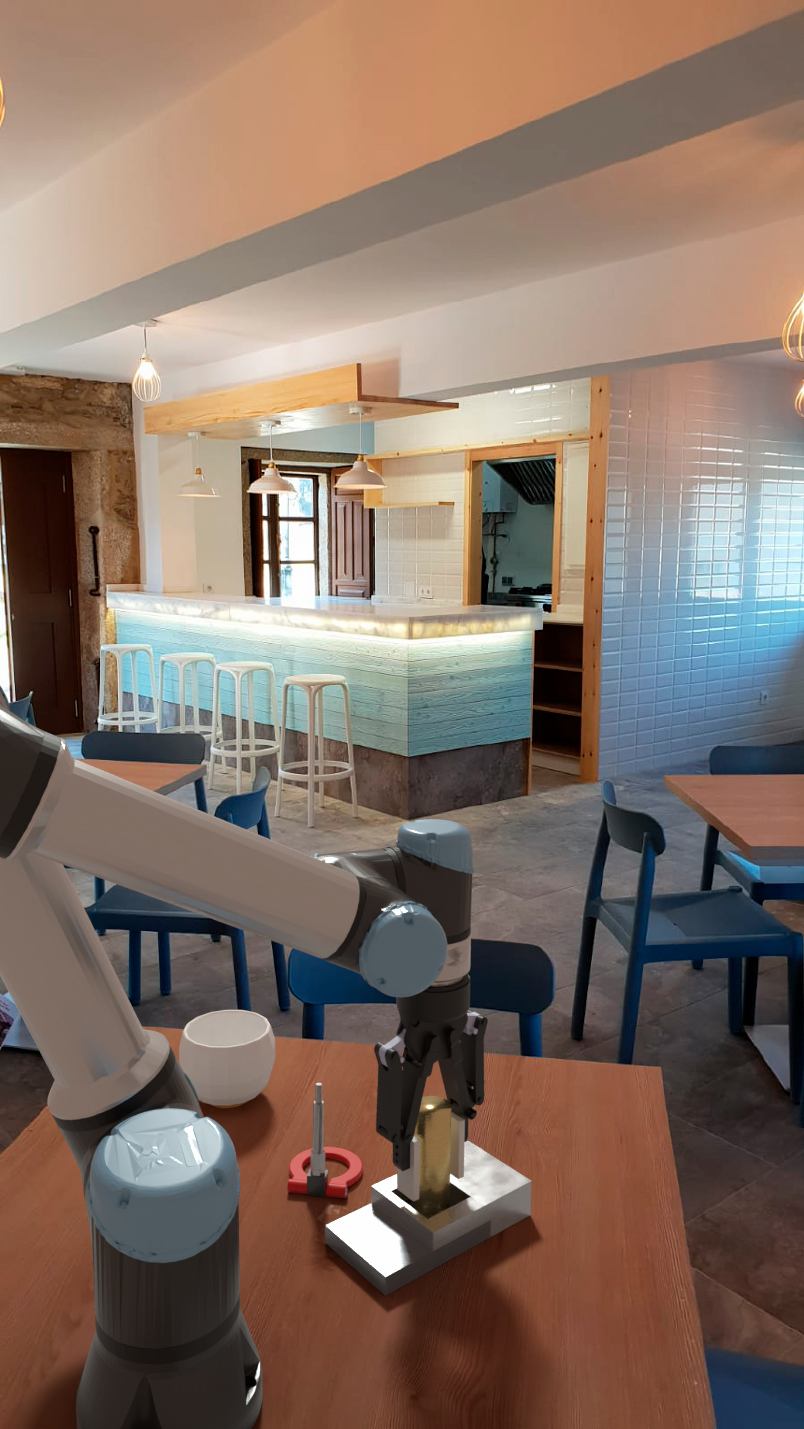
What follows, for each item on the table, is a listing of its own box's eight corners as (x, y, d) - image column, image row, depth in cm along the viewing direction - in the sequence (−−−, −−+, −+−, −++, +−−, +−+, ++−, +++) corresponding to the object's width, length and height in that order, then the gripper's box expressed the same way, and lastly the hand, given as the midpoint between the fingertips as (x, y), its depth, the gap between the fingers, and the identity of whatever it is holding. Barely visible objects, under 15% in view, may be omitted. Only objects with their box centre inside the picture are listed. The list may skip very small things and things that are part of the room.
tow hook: (299, 1152, 125) (278, 1195, 116) (300, 1049, 124) (279, 1083, 115) (368, 1159, 124) (352, 1203, 115) (370, 1055, 123) (354, 1090, 113)
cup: (160, 1103, 135) (158, 1032, 134) (227, 1065, 145) (226, 1000, 144) (229, 1133, 128) (228, 1059, 127) (295, 1091, 138) (294, 1023, 137)
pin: (428, 1246, 107) (430, 1120, 105) (403, 1227, 110) (404, 1104, 108) (456, 1231, 110) (459, 1107, 108) (432, 1212, 113) (433, 1092, 111)
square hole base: (385, 1296, 100) (385, 1258, 100) (325, 1243, 108) (325, 1207, 107) (530, 1215, 113) (531, 1180, 112) (467, 1172, 120) (468, 1140, 120)
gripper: (385, 1009, 97) (383, 1236, 101) (524, 962, 109) (518, 1167, 112) (337, 983, 103) (338, 1199, 107) (474, 941, 115) (470, 1137, 118)
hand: (430, 1182), depth 109 cm, fingers open, 5 cm apart
